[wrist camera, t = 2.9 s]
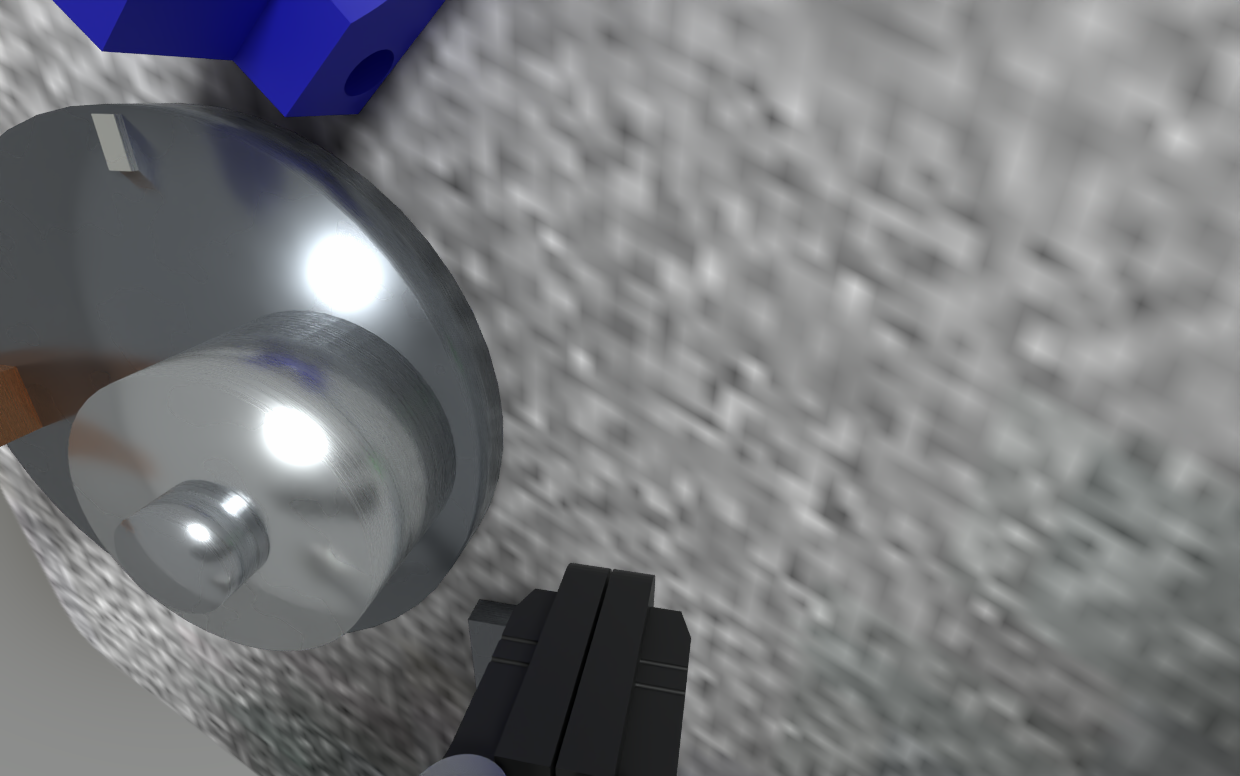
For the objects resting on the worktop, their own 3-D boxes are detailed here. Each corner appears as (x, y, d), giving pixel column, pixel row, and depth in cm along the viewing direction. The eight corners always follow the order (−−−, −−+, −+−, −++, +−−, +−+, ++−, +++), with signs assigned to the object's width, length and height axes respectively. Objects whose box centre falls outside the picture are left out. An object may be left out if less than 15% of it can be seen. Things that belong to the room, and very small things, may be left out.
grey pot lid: (480, 110, 14) (200, 123, 7) (518, 625, 21) (395, 893, 14) (-68, 97, 17) (-660, 98, 10) (123, 555, 24) (-146, 750, 17)
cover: (441, 322, 14) (292, 428, 10) (467, 557, 17) (363, 722, 13) (184, 299, 16) (-56, 384, 11) (251, 523, 19) (83, 663, 14)
